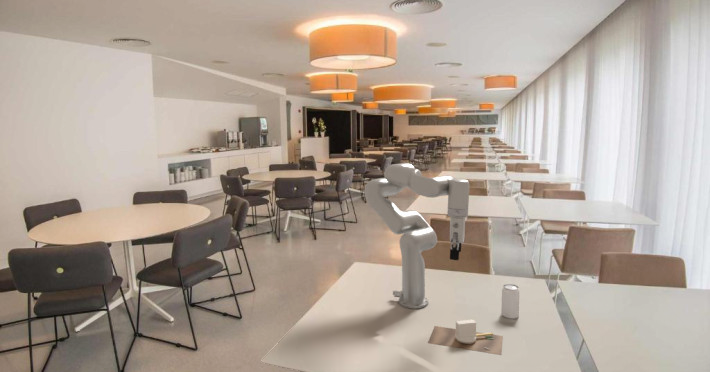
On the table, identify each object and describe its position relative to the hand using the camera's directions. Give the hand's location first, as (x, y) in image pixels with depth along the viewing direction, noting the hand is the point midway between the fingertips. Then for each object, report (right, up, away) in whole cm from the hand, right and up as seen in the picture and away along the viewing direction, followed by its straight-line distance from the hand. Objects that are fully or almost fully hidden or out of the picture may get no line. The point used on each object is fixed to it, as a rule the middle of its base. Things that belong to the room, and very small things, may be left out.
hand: (455, 255), depth 161 cm
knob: (+3, -26, -14) cm, 30 cm away
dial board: (0, -28, -14) cm, 32 cm away
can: (+23, -25, +6) cm, 35 cm away
